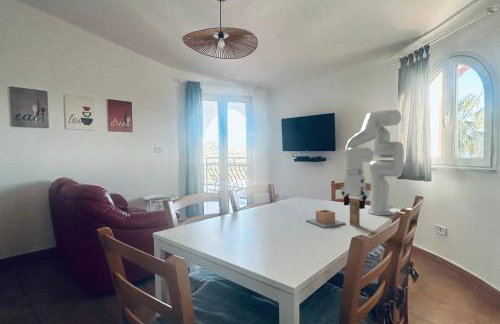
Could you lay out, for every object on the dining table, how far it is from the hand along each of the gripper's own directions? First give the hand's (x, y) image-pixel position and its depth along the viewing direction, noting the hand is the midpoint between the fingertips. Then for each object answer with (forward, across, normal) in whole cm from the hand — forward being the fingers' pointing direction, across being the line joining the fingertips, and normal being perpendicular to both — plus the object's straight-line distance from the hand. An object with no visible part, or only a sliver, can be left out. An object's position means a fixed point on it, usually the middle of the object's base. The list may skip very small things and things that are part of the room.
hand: (354, 206), depth 131 cm
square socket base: (+10, +10, +9) cm, 17 cm away
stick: (+9, 0, -1) cm, 9 cm away
